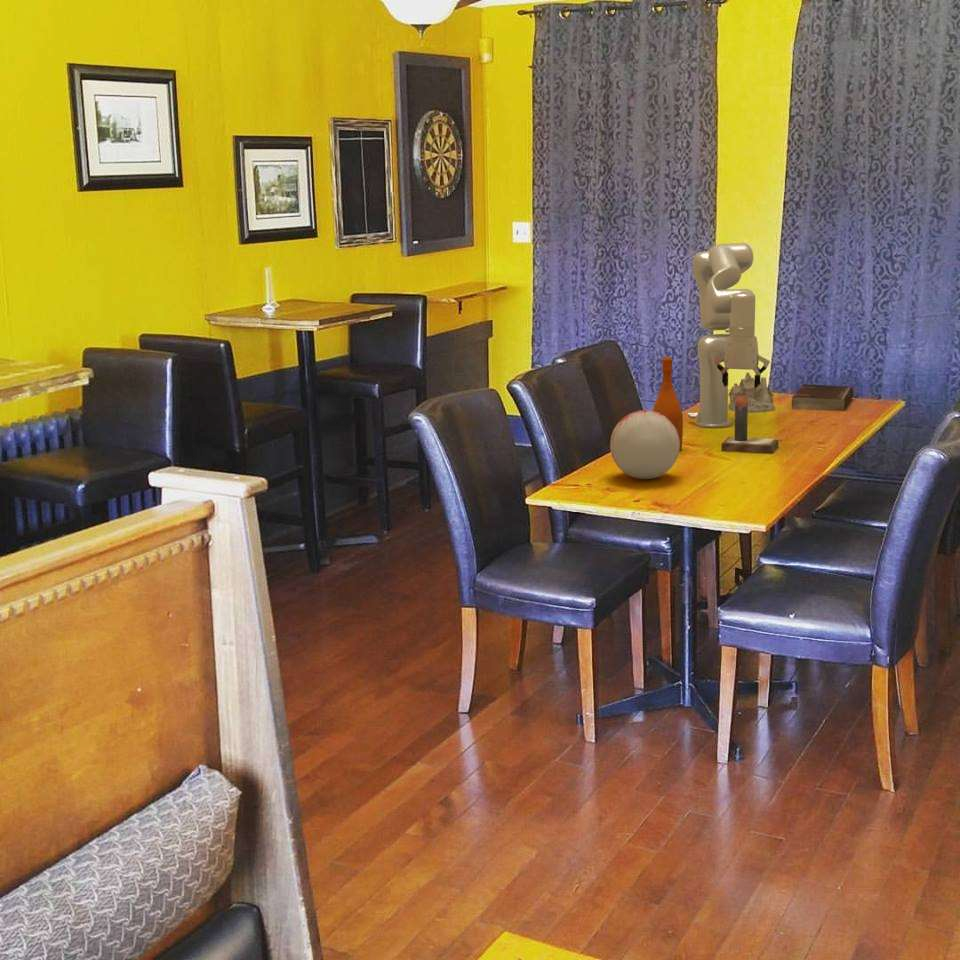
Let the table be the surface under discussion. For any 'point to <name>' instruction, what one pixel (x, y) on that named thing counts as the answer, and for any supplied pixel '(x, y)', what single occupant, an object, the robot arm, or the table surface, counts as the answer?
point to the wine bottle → (669, 399)
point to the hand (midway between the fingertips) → (741, 386)
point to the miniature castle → (753, 395)
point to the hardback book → (822, 397)
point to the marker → (741, 418)
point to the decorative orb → (644, 444)
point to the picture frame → (751, 445)
